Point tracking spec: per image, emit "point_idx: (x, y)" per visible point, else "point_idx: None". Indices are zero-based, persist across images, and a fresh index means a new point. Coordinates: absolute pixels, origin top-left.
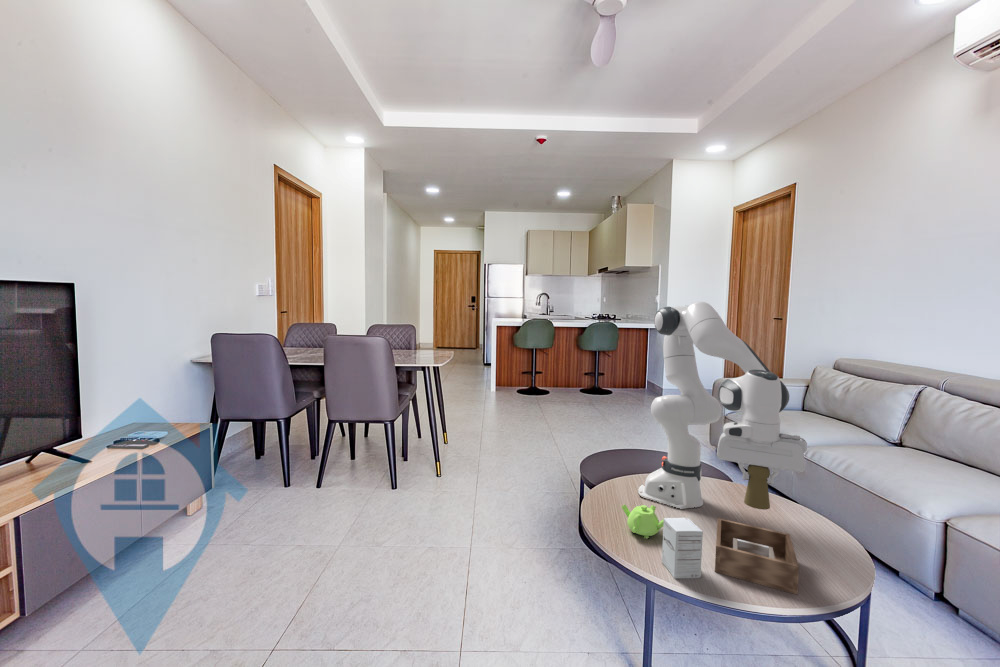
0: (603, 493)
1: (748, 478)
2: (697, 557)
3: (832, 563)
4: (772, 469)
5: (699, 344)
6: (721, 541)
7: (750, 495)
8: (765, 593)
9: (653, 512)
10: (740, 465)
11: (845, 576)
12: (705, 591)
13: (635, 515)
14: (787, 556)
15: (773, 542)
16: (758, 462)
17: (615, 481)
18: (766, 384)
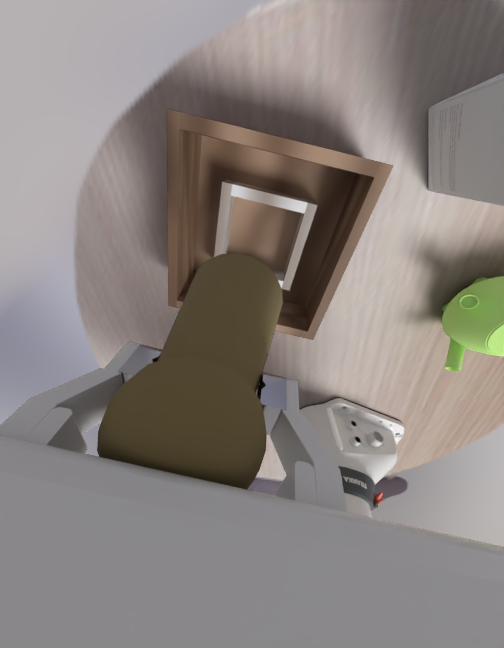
0: (479, 427)
1: (265, 379)
2: (487, 81)
3: (119, 286)
4: (76, 442)
5: None
6: (304, 300)
7: (265, 298)
8: (269, 92)
9: (492, 330)
10: (329, 479)
11: (102, 246)
12: (454, 12)
13: None
14: (188, 245)
15: None
16: (154, 522)
17: (425, 460)
18: None
